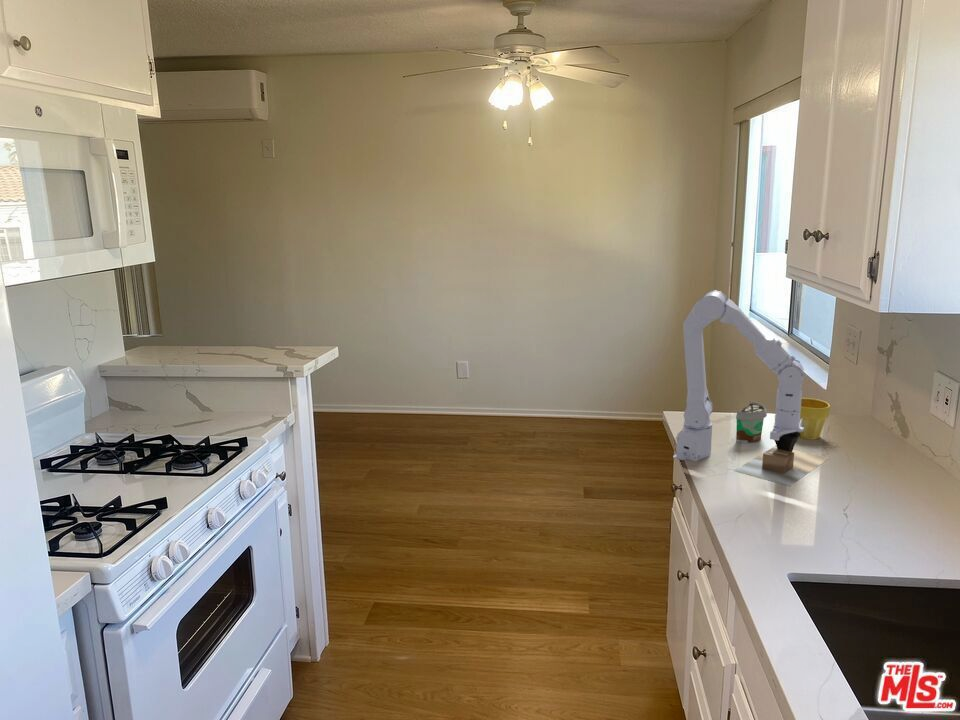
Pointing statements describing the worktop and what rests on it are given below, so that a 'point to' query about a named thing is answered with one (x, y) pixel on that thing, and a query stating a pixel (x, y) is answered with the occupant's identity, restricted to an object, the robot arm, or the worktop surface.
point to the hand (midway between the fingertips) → (784, 459)
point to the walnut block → (778, 460)
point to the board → (800, 469)
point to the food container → (750, 423)
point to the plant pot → (813, 417)
